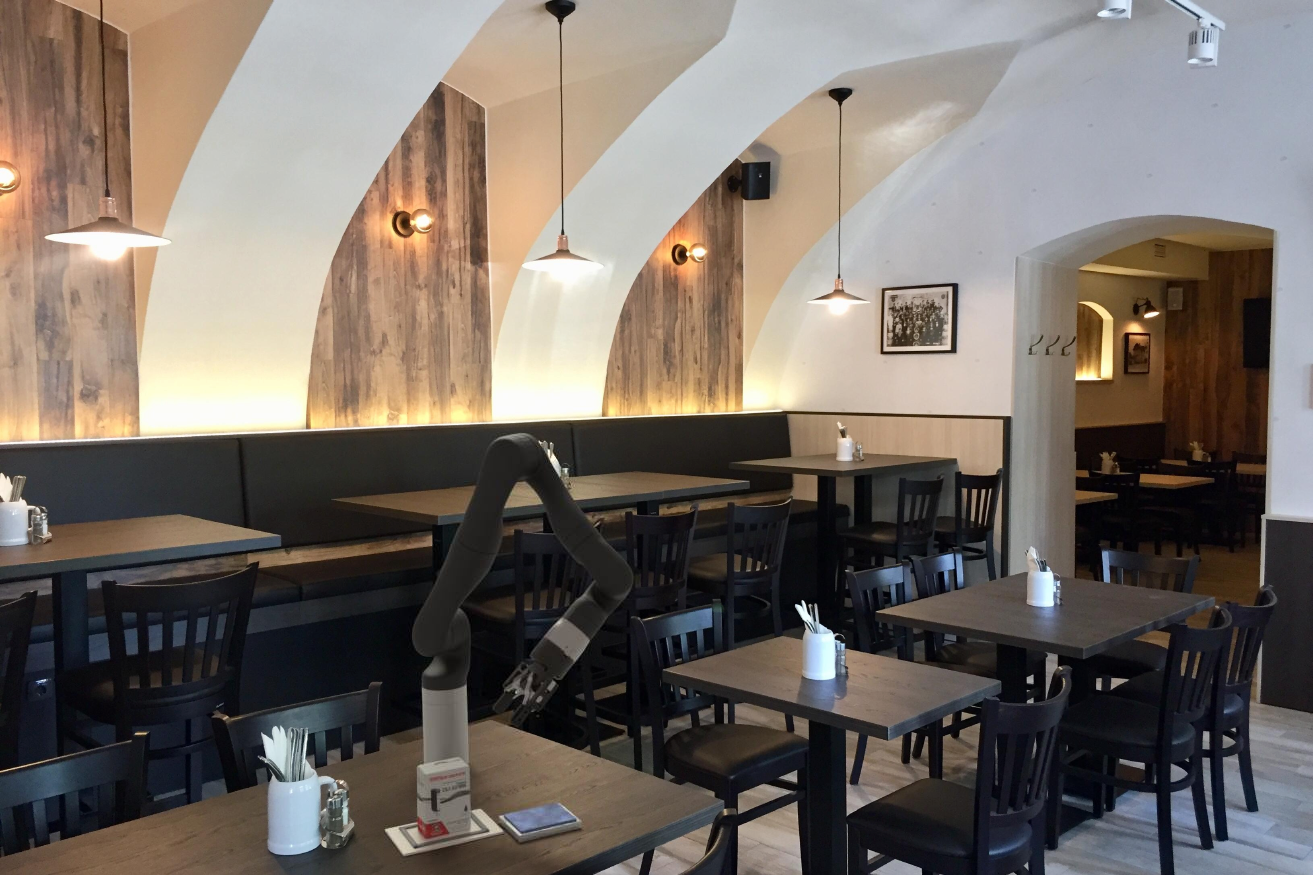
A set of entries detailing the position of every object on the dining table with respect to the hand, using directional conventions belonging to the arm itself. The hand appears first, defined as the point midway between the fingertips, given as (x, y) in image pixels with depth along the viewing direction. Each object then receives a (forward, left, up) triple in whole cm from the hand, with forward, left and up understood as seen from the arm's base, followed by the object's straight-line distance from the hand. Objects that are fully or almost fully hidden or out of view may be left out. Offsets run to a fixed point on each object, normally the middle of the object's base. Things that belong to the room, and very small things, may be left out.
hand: (504, 718), depth 195 cm
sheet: (0, -12, -19) cm, 22 cm away
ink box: (0, -12, -18) cm, 22 cm away
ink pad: (+6, +4, -19) cm, 20 cm away
